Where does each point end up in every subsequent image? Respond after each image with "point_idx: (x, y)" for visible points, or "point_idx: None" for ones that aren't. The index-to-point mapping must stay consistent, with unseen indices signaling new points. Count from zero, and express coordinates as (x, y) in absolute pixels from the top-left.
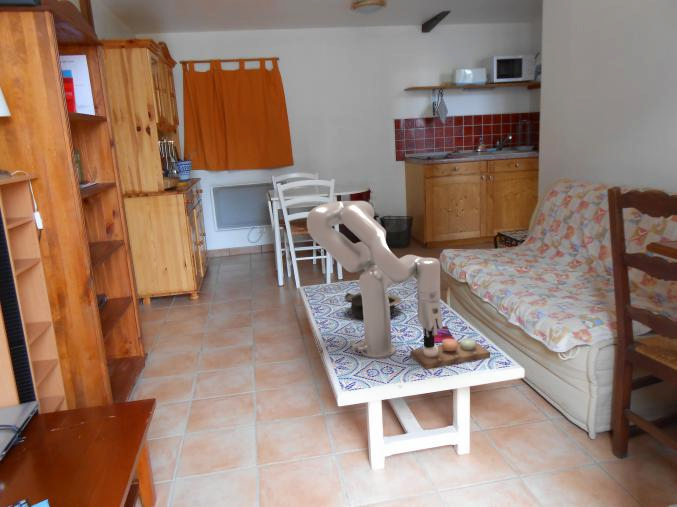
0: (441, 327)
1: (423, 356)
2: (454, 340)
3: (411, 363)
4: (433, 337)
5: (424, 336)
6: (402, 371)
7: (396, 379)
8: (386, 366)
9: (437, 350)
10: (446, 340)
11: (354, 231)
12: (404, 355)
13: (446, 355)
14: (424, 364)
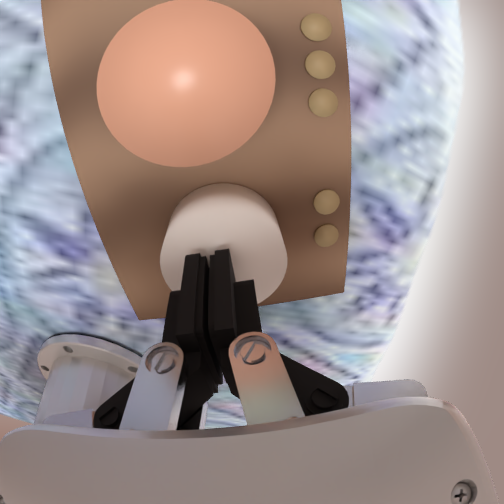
0: (467, 428)
1: None
2: (168, 18)
3: None
4: (235, 319)
5: (216, 385)
6: (304, 345)
7: (353, 361)
8: None
9: (269, 219)
10: (142, 108)
11: None
12: (137, 317)
13: (272, 128)
14: (338, 290)
